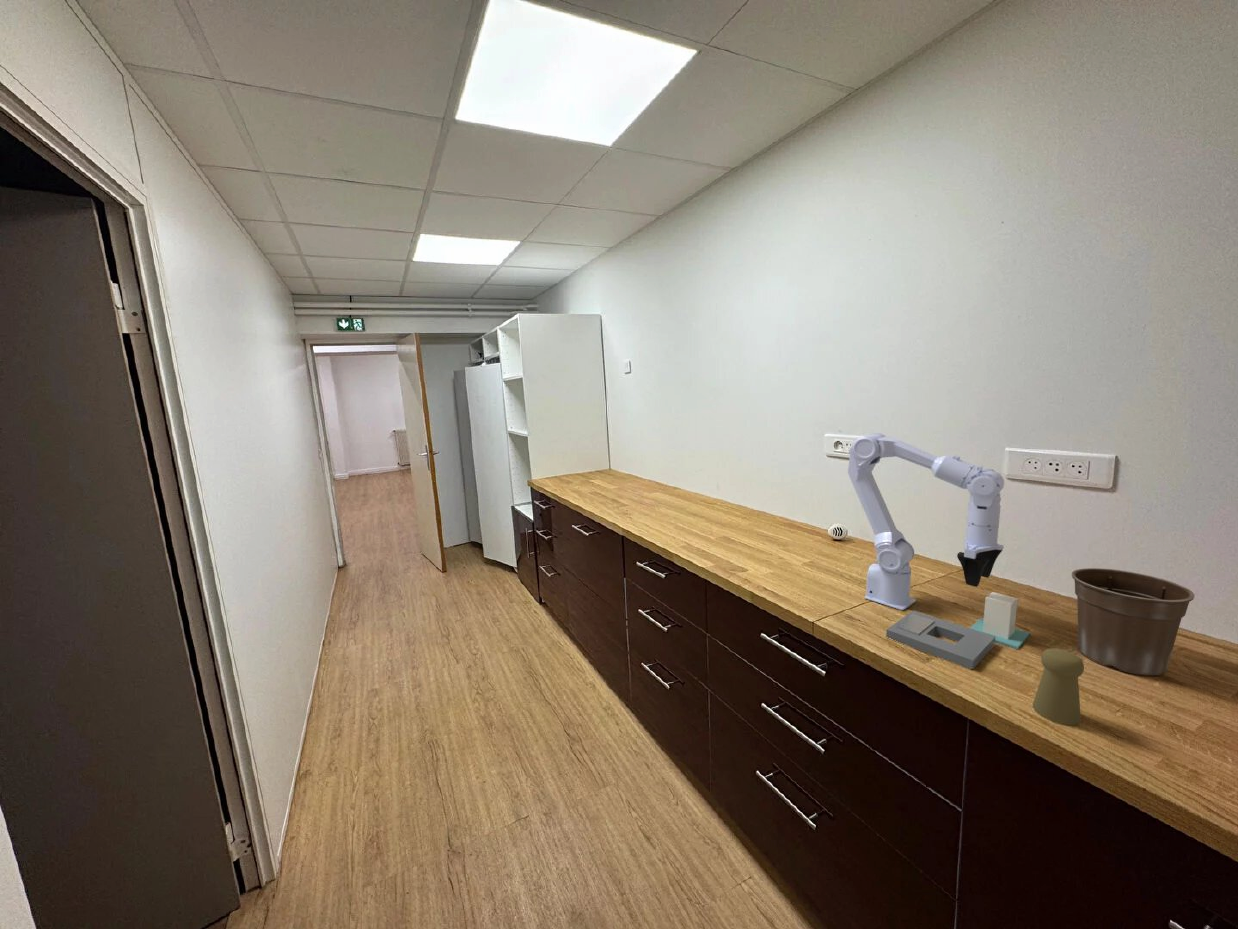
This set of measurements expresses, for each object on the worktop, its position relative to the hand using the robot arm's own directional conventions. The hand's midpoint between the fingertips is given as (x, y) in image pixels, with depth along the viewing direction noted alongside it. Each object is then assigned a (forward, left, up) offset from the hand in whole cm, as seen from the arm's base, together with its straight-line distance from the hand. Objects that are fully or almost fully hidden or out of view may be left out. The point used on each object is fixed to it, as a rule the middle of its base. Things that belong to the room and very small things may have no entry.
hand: (977, 580), depth 108 cm
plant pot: (+23, +4, -11) cm, 26 cm away
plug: (+5, -2, -10) cm, 11 cm away
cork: (+19, -26, -11) cm, 34 cm away
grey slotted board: (-2, -15, -10) cm, 18 cm away
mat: (+5, -2, -10) cm, 12 cm away
